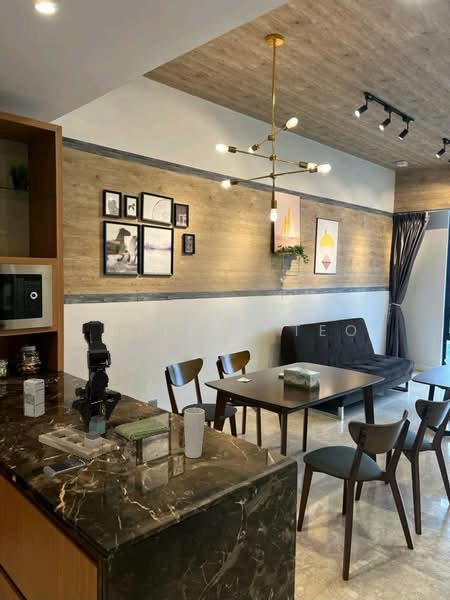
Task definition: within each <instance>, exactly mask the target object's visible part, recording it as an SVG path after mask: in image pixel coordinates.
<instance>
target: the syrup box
mask: <svg viewBox="0 0 450 600" xmlns="http://www.w3.org/2000/svg"><path fill="white" fill-rule="evenodd" d="M44 414H45V379H41V378H40V379H39V378H29V379H27V380H24V381H23V417H28V418H29V417H30V418H38V417H40V416H43V415H44Z"/></svg>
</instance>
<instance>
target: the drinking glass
mask: <svg viewBox="0 0 450 600" xmlns="http://www.w3.org/2000/svg"><path fill="white" fill-rule="evenodd" d="M183 413H184V414H183V429H184V432H183V433H184V444H185V445H184V446H185V447H184V448H185V451H184V454H185V456H186V457H187V458H188V459H198V458H200V457H202V453H203V450H202V449H203V440H204V431H205V430H204V429H205V422H206V419H205V417H206V416H205V413H206V412H205V410H204V409H203V408H201V407H200V408H199V407H190V408H189V407H188V408H186V409H184V411H183Z"/></svg>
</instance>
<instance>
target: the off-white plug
mask: <svg viewBox="0 0 450 600" xmlns="http://www.w3.org/2000/svg"><path fill="white" fill-rule="evenodd" d="M102 438H103V437H102V436H101V434H100V433H99V432H96V431H92V432H89V431H88V432H86V438H84V447H86V448H88V449H91V450H92V449H95V448H98V447H100V446H102Z"/></svg>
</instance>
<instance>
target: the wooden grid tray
mask: <svg viewBox="0 0 450 600" xmlns="http://www.w3.org/2000/svg"><path fill="white" fill-rule="evenodd" d="M86 433H87V432H85V431H83V430H79V429H76V428H74V427H71V426H65V427H62V428H60V429H56V430H53V431H50V432H47V433H43V434H40V435H38V442H40V443H41V444H44V445H47V446H50V447H51V448H55V449H57V450H59V451H63V452H65V453H68V454H71V455H73V456H76V457H78V456H79V457H78V458H81V457H82V458H81V459H83V458H84V459H83V460H86V459H87V461H90V459H91V460H92V458H93V459H96V458H98V457H99V456H102V454H103V455H105V454H107V452H108V453H110V452H113V451H115V450H117V449H118V442H116V441H114V440H113V441H112V440H109V439H106V438H103V437H102V446H100V447H98V448H95V449H92V450H91V449H88V448H86V447H84V438H86ZM64 436H65V437H64ZM61 437H62V438H61ZM78 441H79V442H78ZM76 442H77V443H76ZM112 450H113V451H112ZM97 456H98V457H97Z"/></svg>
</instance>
